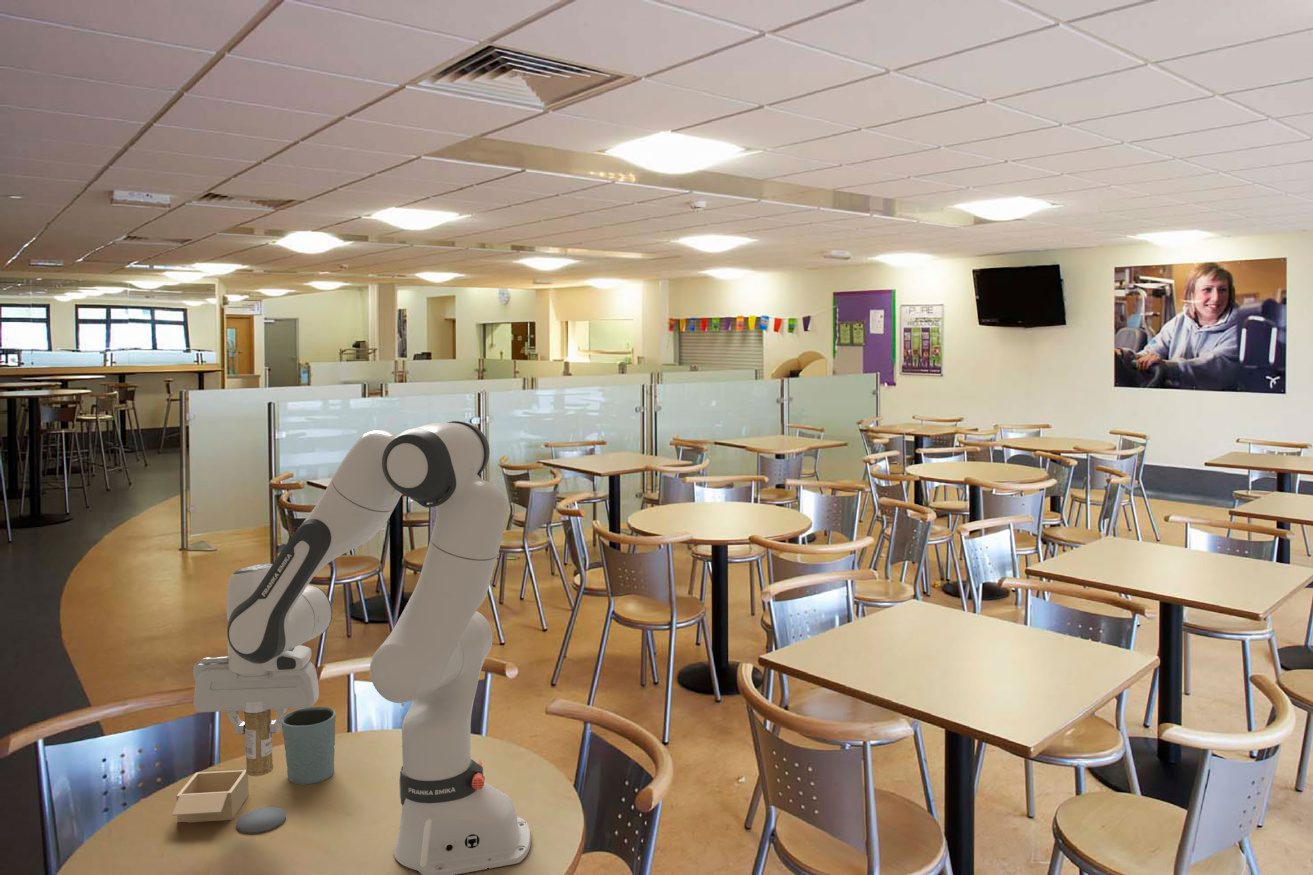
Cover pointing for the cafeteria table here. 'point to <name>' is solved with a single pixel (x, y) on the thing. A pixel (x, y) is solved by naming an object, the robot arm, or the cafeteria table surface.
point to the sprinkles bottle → (258, 739)
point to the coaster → (261, 820)
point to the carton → (212, 796)
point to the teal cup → (309, 744)
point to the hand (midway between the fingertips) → (258, 732)
